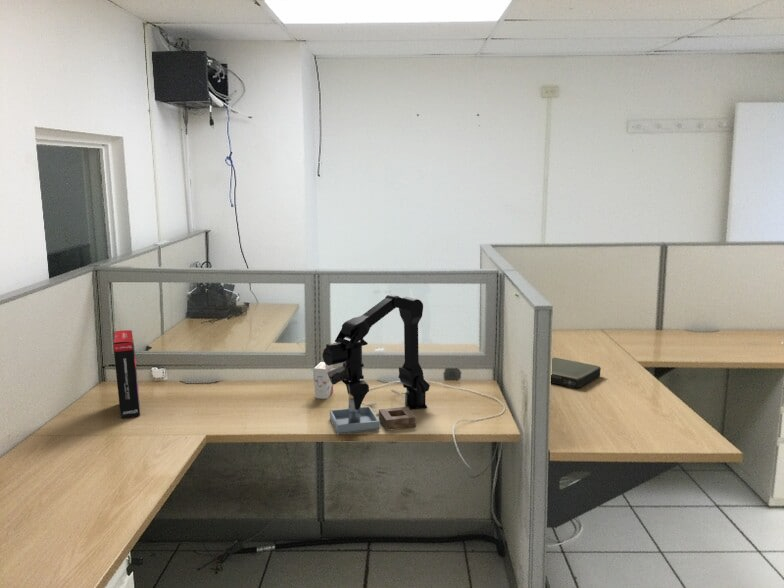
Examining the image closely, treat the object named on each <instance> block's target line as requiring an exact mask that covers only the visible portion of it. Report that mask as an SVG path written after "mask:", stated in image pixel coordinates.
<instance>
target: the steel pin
mask: <svg viewBox="0 0 784 588" xmlns="http://www.w3.org/2000/svg"><path fill="white" fill-rule="evenodd" d="M361 407H362V406H360V408H359V410H356V409H355V405H354V400H353V396H352V395H351V394H350V393H349V395H348V408H349V414H348V423H349V424H350V423H359V422H360V414H361Z"/></svg>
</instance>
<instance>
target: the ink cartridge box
mask: <svg viewBox="0 0 784 588" xmlns="http://www.w3.org/2000/svg"><path fill="white" fill-rule="evenodd" d="M333 367H334V365H330V366H328V365H326V364H325V362H324V361H320V362H319V363H318V364H317V365H316V366H315V367H314V368H313V370H314V371H313V372H314V373H313V379H314V398H315V399H322V400H323V399H324V400H327V399H328V398H329V397H330V396H331V394H333V393H334V385H333V384H332V383H331V381H330V379H329V376H328V374H327V373H328V372H329V371H332V370H334V368H333Z"/></svg>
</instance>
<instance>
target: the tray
mask: <svg viewBox="0 0 784 588" xmlns="http://www.w3.org/2000/svg"><path fill="white" fill-rule="evenodd" d="M348 414H349V407H348V408H340V409H338V408H337V409H330V410H329V420H330V422H331V423H332V425H333V428H334V430H335V432H336V434H337V435H342V434H354V433H363V432H370V431H379V430H380V429H381V428H380V427H381V426H380V425H381V424H380V423H381V422H380V420H379V417H378V416H377V415H376V413H375V412H374V410H373V409H372V408H371V406H361V414H360V422H359V423H350V424H349V423H348Z"/></svg>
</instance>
